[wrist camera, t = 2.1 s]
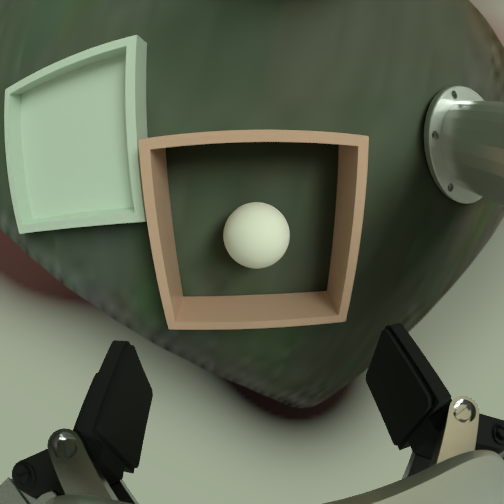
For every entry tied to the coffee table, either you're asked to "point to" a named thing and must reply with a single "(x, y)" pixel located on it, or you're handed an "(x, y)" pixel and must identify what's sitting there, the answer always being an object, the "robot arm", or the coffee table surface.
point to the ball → (256, 235)
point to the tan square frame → (268, 305)
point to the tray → (79, 139)
